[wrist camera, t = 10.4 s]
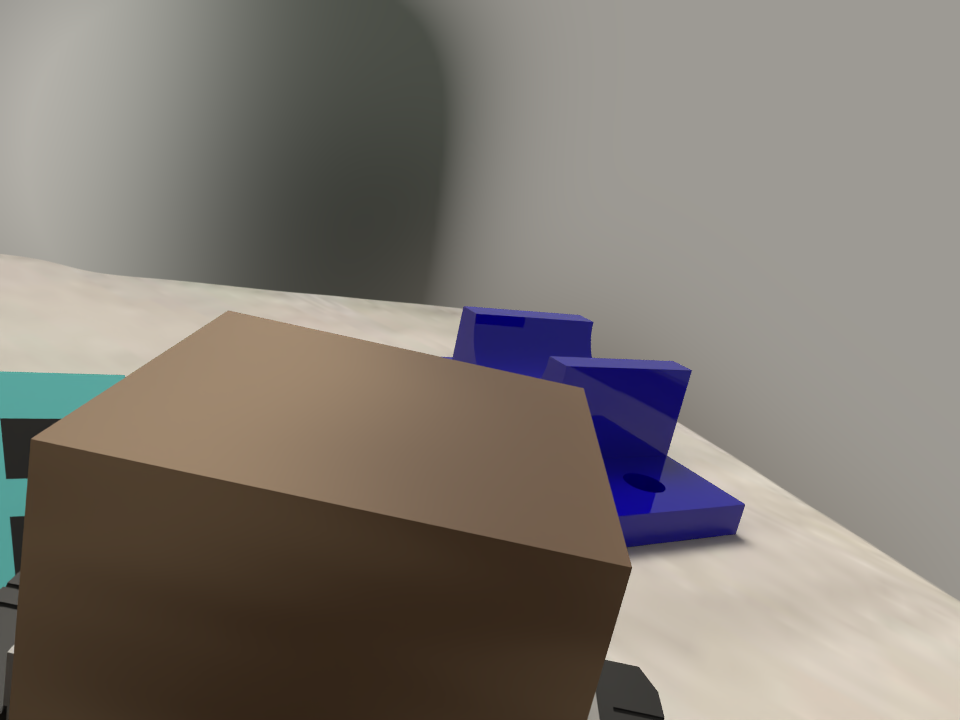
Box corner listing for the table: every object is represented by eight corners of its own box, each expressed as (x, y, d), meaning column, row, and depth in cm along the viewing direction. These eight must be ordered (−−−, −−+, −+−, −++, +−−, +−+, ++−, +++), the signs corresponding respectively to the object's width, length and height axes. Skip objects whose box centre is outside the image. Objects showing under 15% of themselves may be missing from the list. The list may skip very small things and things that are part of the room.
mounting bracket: (397, 386, 47) (418, 280, 45) (505, 388, 51) (528, 290, 49) (604, 559, 32) (645, 411, 31) (732, 542, 36) (775, 411, 35)
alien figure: (326, 426, 39) (-238, 426, 29) (334, 381, 39) (-238, 364, 28) (581, 721, 23) (-492, 970, 13) (602, 651, 23) (-505, 849, 12)
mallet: (-68, 1378, 9) (-7, 462, 6) (275, 639, 23) (345, 234, 20) (381, 1463, 9) (639, 600, 7) (458, 677, 23) (554, 280, 20)
